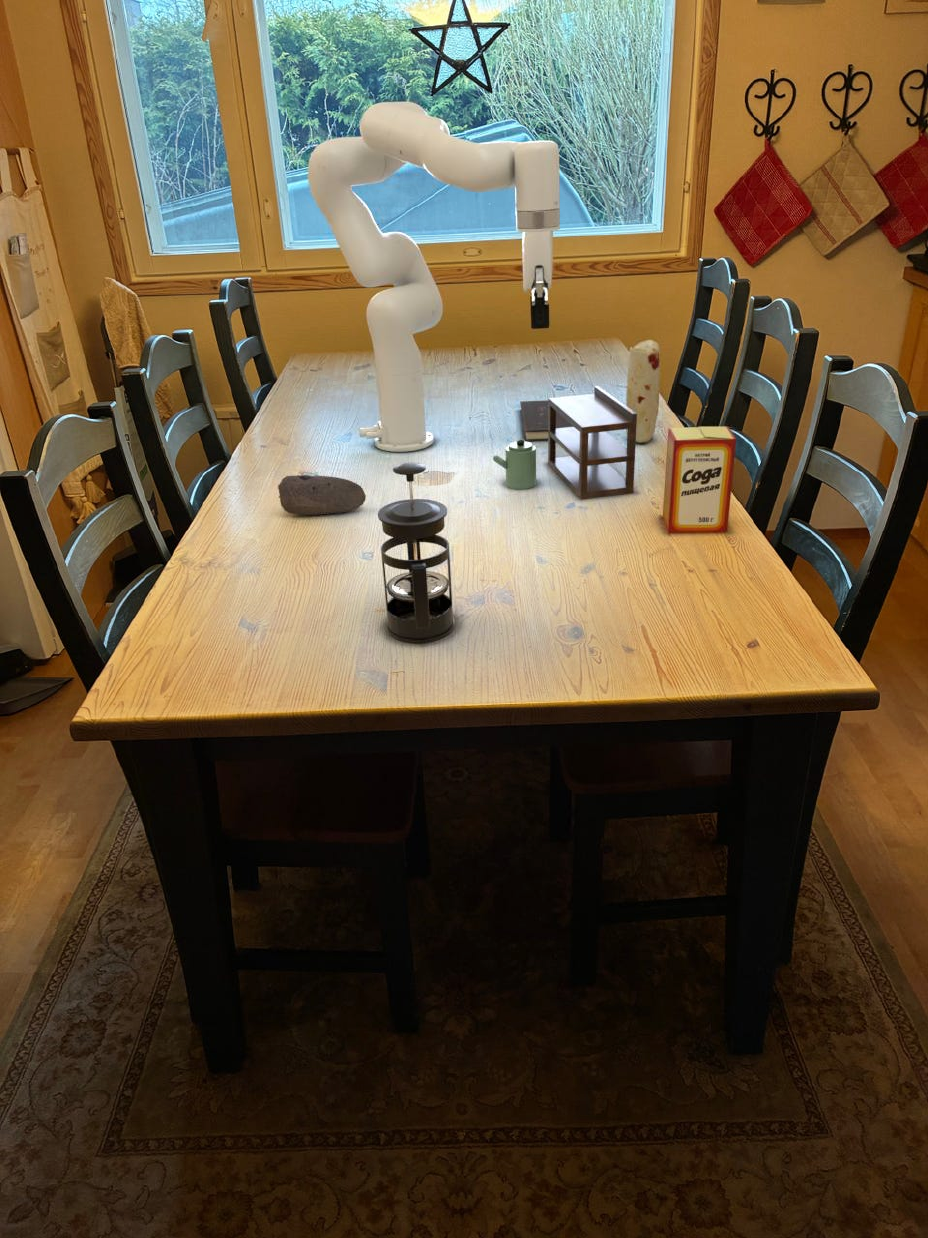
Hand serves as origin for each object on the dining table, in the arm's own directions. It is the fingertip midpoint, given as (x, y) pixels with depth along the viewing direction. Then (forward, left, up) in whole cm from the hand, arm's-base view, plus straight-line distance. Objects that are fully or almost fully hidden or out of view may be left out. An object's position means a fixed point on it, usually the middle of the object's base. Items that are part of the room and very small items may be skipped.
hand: (539, 322), depth 170 cm
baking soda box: (+16, -35, -28) cm, 48 cm away
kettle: (-7, -7, -28) cm, 29 cm away
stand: (+7, -8, -28) cm, 30 cm away
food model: (+25, +11, -28) cm, 39 cm away
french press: (-34, -57, -28) cm, 72 cm away
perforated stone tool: (-43, -10, -28) cm, 52 cm away
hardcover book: (+12, +27, -28) cm, 41 cm away
